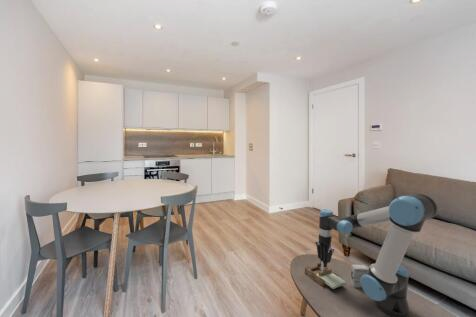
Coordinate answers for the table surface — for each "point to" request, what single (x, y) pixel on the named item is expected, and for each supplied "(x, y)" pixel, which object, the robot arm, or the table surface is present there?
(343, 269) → the table surface
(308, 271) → the walnut box
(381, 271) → the robot arm
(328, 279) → the lid
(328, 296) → the table surface
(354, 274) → the ink box
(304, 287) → the table surface
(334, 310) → the table surface
